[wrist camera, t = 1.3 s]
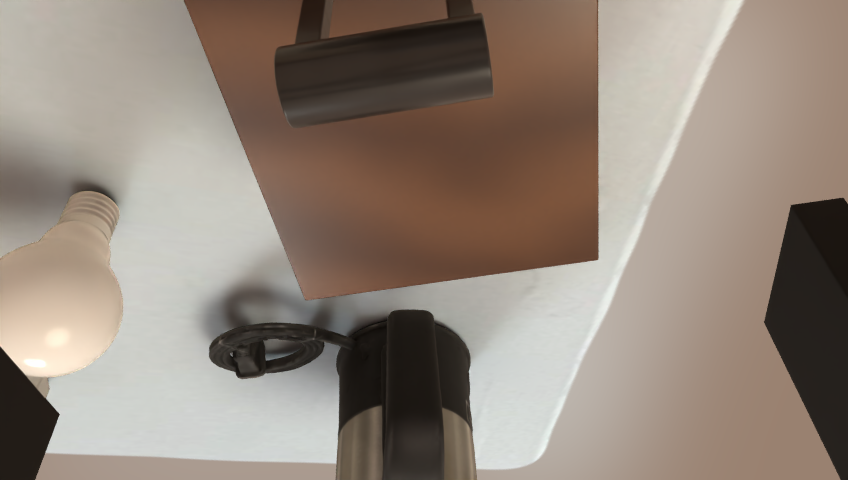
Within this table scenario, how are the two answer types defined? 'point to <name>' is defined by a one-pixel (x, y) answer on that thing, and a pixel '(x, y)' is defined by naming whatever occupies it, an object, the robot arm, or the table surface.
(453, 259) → the lid
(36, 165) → the table surface
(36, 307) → the lightbulb
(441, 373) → the milk frother
